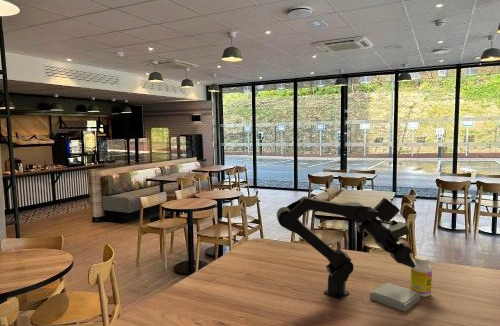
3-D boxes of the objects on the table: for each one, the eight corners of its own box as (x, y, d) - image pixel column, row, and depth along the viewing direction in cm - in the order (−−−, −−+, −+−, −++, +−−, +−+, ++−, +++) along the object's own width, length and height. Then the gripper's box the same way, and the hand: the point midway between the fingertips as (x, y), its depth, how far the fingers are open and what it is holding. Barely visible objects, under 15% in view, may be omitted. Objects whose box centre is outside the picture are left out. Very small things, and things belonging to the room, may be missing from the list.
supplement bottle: (428, 299, 122) (430, 262, 121) (407, 293, 126) (409, 258, 125) (432, 292, 128) (434, 257, 126) (412, 287, 132) (414, 253, 130)
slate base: (404, 311, 114) (405, 304, 114) (369, 298, 123) (370, 291, 122) (420, 299, 122) (420, 292, 122) (386, 288, 131) (386, 281, 131)
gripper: (406, 222, 115) (439, 255, 116) (384, 209, 133) (412, 237, 135) (381, 246, 115) (414, 279, 117) (362, 230, 134) (390, 258, 135)
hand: (408, 261), depth 126 cm, fingers open, 9 cm apart
